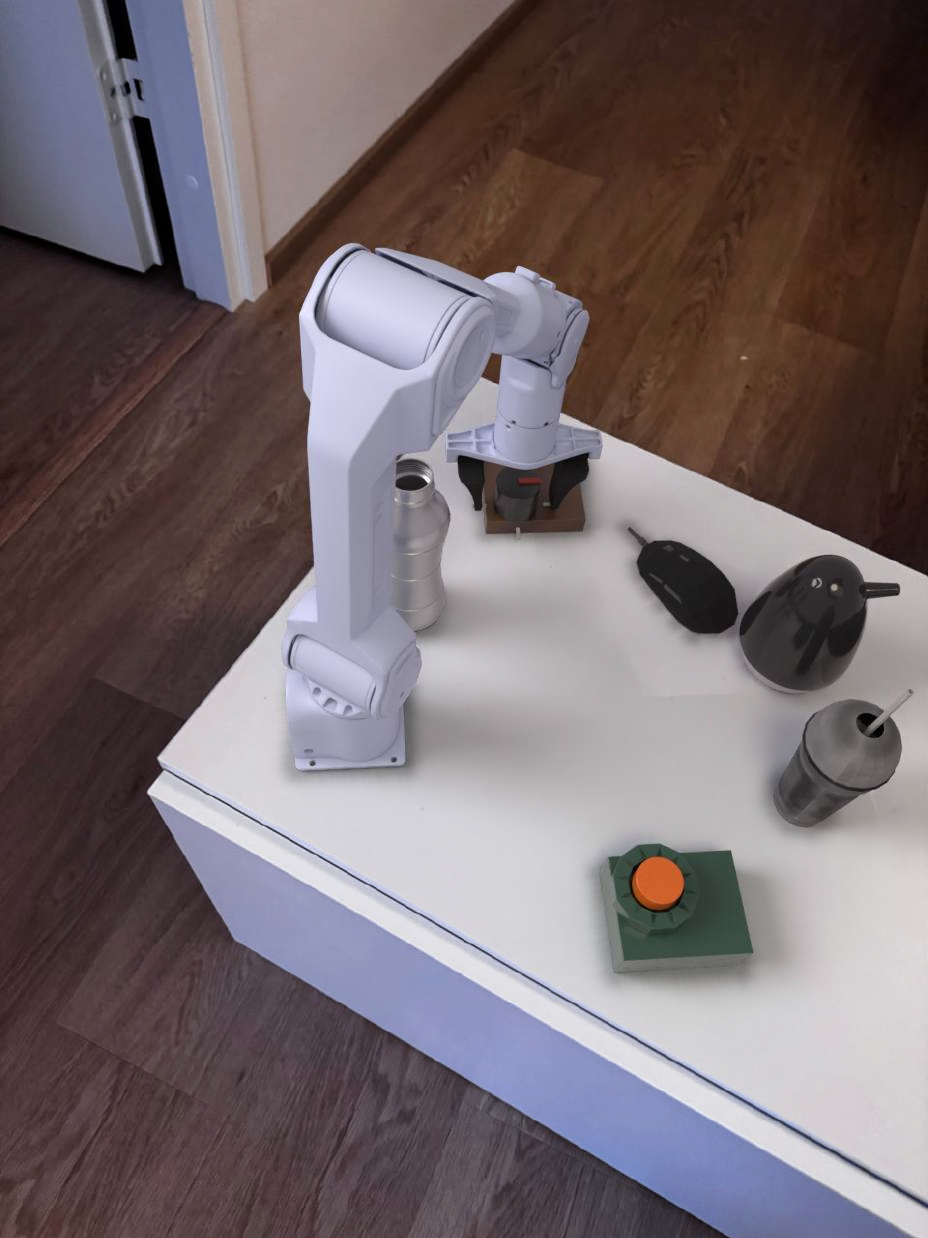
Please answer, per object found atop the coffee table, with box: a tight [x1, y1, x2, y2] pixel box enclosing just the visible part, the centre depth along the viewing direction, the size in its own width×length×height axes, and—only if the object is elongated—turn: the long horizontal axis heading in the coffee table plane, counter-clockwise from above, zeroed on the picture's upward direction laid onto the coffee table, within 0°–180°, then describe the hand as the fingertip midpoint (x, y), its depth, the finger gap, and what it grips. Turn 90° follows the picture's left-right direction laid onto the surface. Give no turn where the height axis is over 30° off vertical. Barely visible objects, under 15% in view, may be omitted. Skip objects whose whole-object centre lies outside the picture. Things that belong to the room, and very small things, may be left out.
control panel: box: [472, 461, 587, 541], centre depth 100 cm, size 11×12×2 cm
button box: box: [599, 843, 754, 974], centre depth 76 cm, size 10×8×6 cm
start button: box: [632, 857, 684, 910], centre depth 73 cm, size 4×4×2 cm
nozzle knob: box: [493, 467, 541, 522], centre depth 96 cm, size 4×4×4 cm
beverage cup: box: [773, 687, 915, 828], centre depth 76 cm, size 7×7×20 cm
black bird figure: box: [738, 554, 901, 694], centre depth 85 cm, size 10×10×15 cm
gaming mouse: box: [627, 526, 739, 635], centre depth 95 cm, size 6×15×4 cm, turn 34°
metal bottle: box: [390, 457, 451, 632], centre depth 85 cm, size 6×7×20 cm
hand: (515, 502), depth 97 cm, fingers open, 7 cm apart
